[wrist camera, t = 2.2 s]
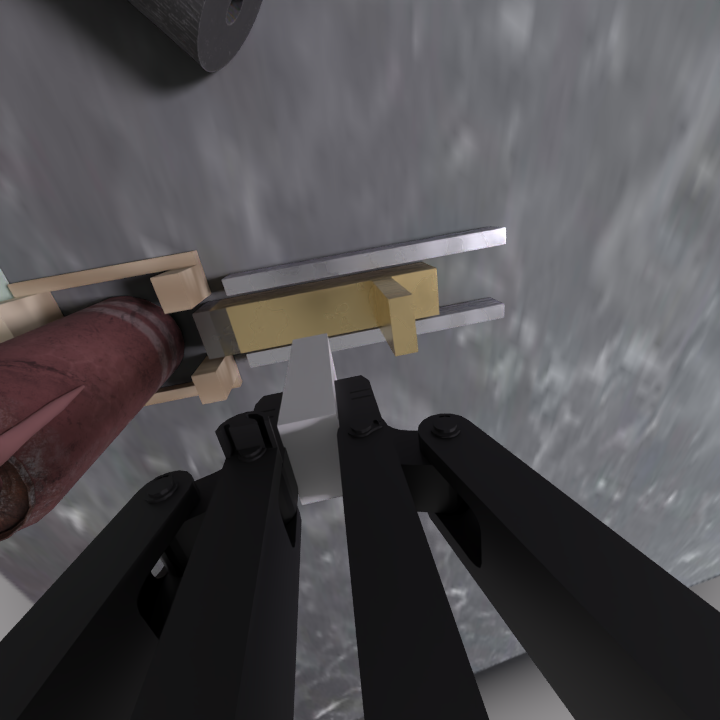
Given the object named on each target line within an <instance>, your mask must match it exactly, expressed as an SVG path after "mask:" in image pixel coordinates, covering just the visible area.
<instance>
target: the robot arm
mask: <svg viewBox="0 0 720 720" xmlns="http://www.w3.org/2000/svg"><path fill="white" fill-rule="evenodd" d="M215 433H216V435H217V437H218V440H219V442H220V445H221V447H222V450H223V452H224V455H225V457H226V460H225V462H224V465H223V468H222V469H221V470H219V471H217V472H215V473H213V474H211V475H208V476H206V477H204V478H201V479H199V480H196V481H194V479H193V477H192V475H191V474H190V473H188V472H187V471H180V470H179V471H174V472H169V473H166V474H163V475H160V476H158V477H156V478H155V479H154V480H152V481H150V482H149V483H147V484H146V485H145V486H144V487H142V488H141V489H140V490H139V491H138V492H137V493H136V494H135V495H134V496H133V497H132V498H131V500H130V501H129V502H128V503H127V504H126V505H125V506H124V507H123V508H122V509H121V510H120V512H119V513H118V514H117V515H116V516H115V517H114V518H113V519H112V520H111V521H110V522H109V524H108V525H107V526H106V527H105V528H104V529H103V530H102V531H101V532H100V533H99V535H98V536H97V537H96V538H95V539H94V540H93V541H92V542H91V543H90V544H89V545H88V547H87V548H86V549H85V550H84V551H83V552H82V553H81V554H80V555H79V556H78V557H77V559H76V560H75V561H74V562H73V563H72V564H71V565H70V566H69V567H68V568H67V569H66V571H65V572H64V573H63V574H62V575H61V576H60V577H59V578H58V579H57V580H56V582H55V583H54V584H53V585H52V586H51V587H50V588H49V589H48V590H47V591H46V592H45V594H44V595H43V596H42V597H41V598H40V599H39V600H38V601H37V602H36V603H35V604H34V606H33V607H32V608H31V609H30V610H29V611H28V612H27V613H26V614H25V615H24V616H23V618H22V619H21V620H20V621H19V622H18V623H17V624H16V625H15V626H14V627H13V629H12V630H11V631H10V632H9V633H8V634H7V635H6V636H5V637H4V638H3V639H2V641H1V642H0V720H293V717H294V692H295V667H296V643H297V618H298V594H299V569H300V544H301V516H300V512H299V509H298V506H297V501H298V494H299V497H300V500H301V503H302V505H304V504H309V503H313V502H318V501H322V500H327V499H331V498H336V497H340V496H343V504H344V514H345V524H346V535H347V545H348V555H349V565H350V576H351V586H352V596H353V607H354V617H355V627H356V637H357V648H358V658H359V668H360V678H361V689H362V699H363V709H364V719H365V720H489V718H488V715H487V712H486V709H485V706H484V703H483V700H482V697H481V695H480V692H479V689H478V686H477V683H476V680H475V677H474V674H473V671H472V668H471V666H470V663H469V660H468V657H467V654H466V651H465V648H464V645H463V643H462V640H461V637H460V634H459V631H458V628H457V625H456V622H455V619H454V617H453V614H452V611H451V608H450V605H449V602H448V599H447V596H446V593H445V591H444V588H443V585H442V582H441V579H440V576H439V573H438V570H437V568H436V565H435V562H434V559H433V556H432V553H431V550H430V547H429V544H428V542H427V539H426V536H425V533H424V530H423V527H422V524H421V521H420V518H419V516H418V513H417V512H428V515H429V517H430V519H431V520H432V521H433V523H434V524H435V526H436V527H437V528H438V530H439V531H440V533H441V534H442V535H443V537H444V538H445V539H446V541H447V542H448V544H449V545H450V546H451V548H452V549H453V551H454V552H455V553H456V555H457V556H458V558H459V559H460V560H461V562H462V563H463V564H464V566H465V567H466V569H467V570H468V571H469V573H470V574H471V576H472V577H473V578H474V580H475V581H476V583H477V584H478V585H479V587H480V588H481V589H482V591H483V592H484V594H485V595H486V596H487V598H488V599H489V601H490V602H491V603H492V605H493V606H494V608H495V609H496V610H497V612H498V613H499V614H500V616H501V617H502V619H503V620H504V621H505V623H506V624H507V626H508V627H509V628H510V630H511V631H512V633H513V634H514V635H515V637H516V638H517V640H518V641H519V642H520V644H521V645H522V646H523V648H524V649H525V651H526V652H527V653H528V655H529V656H530V658H531V659H532V660H533V662H534V663H535V665H536V666H537V667H538V669H539V670H540V671H541V673H542V674H543V676H544V677H545V678H546V679H547V681H548V683H549V684H550V685H551V687H552V688H553V689H554V691H555V692H556V694H557V695H558V696H559V698H560V699H561V701H562V702H563V703H564V705H565V706H566V708H567V709H568V710H569V712H570V713H571V715H572V716H573V717H574V719H575V720H720V612H719V611H717V610H716V609H715V608H714V607H712V606H711V605H709V604H708V603H707V602H706V601H704V600H703V599H702V598H700V597H699V596H698V595H697V594H695V593H694V592H693V591H691V590H690V589H689V588H687V587H686V586H685V585H683V584H682V583H681V582H680V581H678V580H677V579H676V578H674V577H673V576H672V575H670V574H669V573H668V572H666V571H665V570H664V569H663V568H661V567H660V566H659V565H657V564H656V563H655V562H653V561H652V560H651V559H649V558H648V557H647V556H646V555H644V554H643V553H642V552H640V551H639V550H638V549H636V548H635V547H634V546H632V545H631V544H630V543H629V542H627V541H626V540H625V539H623V538H622V537H621V536H619V535H618V534H617V533H615V532H614V531H613V530H612V529H610V528H609V527H608V526H606V525H605V524H604V523H602V522H601V521H600V520H598V519H597V518H596V517H595V516H593V515H592V514H591V513H589V512H588V511H587V510H585V509H584V508H583V507H581V506H580V505H579V504H578V503H576V502H575V501H574V500H572V499H571V498H570V497H568V496H567V495H566V494H564V493H563V492H562V491H561V490H559V489H558V488H557V487H555V486H554V485H553V484H551V483H550V482H549V481H547V480H546V479H545V478H544V477H542V476H541V475H540V474H538V473H537V472H536V471H534V470H533V469H532V468H530V467H529V466H528V465H527V464H525V463H524V462H523V461H521V460H520V459H519V458H517V457H516V456H515V455H513V454H512V453H511V452H510V451H508V450H507V449H506V448H504V447H503V446H502V445H500V444H499V443H498V442H496V441H495V440H494V439H493V438H491V437H490V436H489V435H487V434H486V433H485V432H483V431H482V430H481V429H479V428H478V427H477V426H476V425H474V424H473V423H472V422H470V421H469V420H467V419H465V418H464V417H462V416H459V415H455V414H437V415H433V416H430V417H428V418H426V419H424V420H423V421H422V422H421V423H420V425H419V427H418V431H407V430H398V429H394V428H392V427H390V426H388V425H387V424H386V422H385V421H384V420H383V419H382V417H381V414H380V411H379V409H378V406H377V403H376V400H375V397H374V394H373V391H372V388H371V385H370V382H369V380H368V379H366V378H365V377H363V376H362V375H360V376H355V377H350V378H345V379H340V380H337V378H336V373H335V368H334V363H333V359H332V354H331V349H330V345H329V340H328V335H327V333H325V334H320V335H315V336H310V337H304V338H299V339H294V340H293V341H292V347H291V352H290V358H289V363H288V369H287V374H286V380H285V385H284V391H283V392H281V393H276V394H271V395H266V396H263V397H262V398H261V399H260V400H259V402H258V403H257V404H256V405H255V408H254V411H251V412H245V413H242V414H238V415H236V416H234V417H232V418H230V419H228V420H226V421H225V422H224V423H222V424H221V425H220V426H219V427H218V429H217V430H216V431H215ZM159 559H161V561H162V562H163V564H164V567H163V568H162V570H161V571H160V572H159V574H158V575H157V576H156V577H154V576H153V575H152V573H151V570H152V569H153V567H154V566H155V564H156V563H157V561H158V560H159Z"/></svg>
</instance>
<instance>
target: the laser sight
mask: <svg viewBox="0 0 720 720" xmlns="http://www.w3.org/2000/svg"><path fill="white" fill-rule="evenodd" d="M128 1H129V2H130V3H131V4H132V5H133V6H135V7H136V8H137V9H138V10H139V11H140V12H141V13H142V14H144V15H145V16H146V17H147V18H148V19H149V20H151V21H152V22H153V23H154V24H155V25H156V26H158V27H159V28H160V29H161V30H162V31H163V32H164V33H165V34H166V35H168V36H169V37H170V38H171V39H172V40H173V41H174V42H175V43H176V44H178V45H179V46H180V47H181V48H182V49H183V50H184V51H185V52H186V53H188V54H189V55H190V56H191V57H192V58H193V59H194V60H196V61H197V63H198V64H199V65H200V66H201V67H202V68H203V69H204V70H206V71H208V72H215V71H218V70H220V69H221V68H223V67H224V66H225V65H227V64H228V63H229V62H230V61H231V59H232V58H233V57H234V56H235V55H236V53H237V52H238V51H239V49H240V48H241V46H242V45H243V43H244V41H245V40H246V38H247V36H248V34H249V32H250V30H251V28H252V26H253V24H254V22H255V19H256V17H257V14H258V12H259V9H260V6H261V3H262V0H128Z"/></svg>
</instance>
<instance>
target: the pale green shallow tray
mask: <svg viewBox="0 0 720 720" xmlns="http://www.w3.org/2000/svg"><path fill="white" fill-rule="evenodd" d="M8 284H9V282H8V281H7V279H6V277H5V276H4V274H3V272H2V271H1V269H0V302H2V301H5V300H9V299H12V298H15V297H14V296H13V294H12V292H11V291H10V289H9V287H8V286H7V285H8Z"/></svg>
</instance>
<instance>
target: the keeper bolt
mask: <svg viewBox="0 0 720 720" xmlns="http://www.w3.org/2000/svg"><path fill="white" fill-rule="evenodd" d="M434 315H439V301H438V285H437V269H436V268H435V267H433V266H430V265H428V264H426V263H424V262H419V263H413V264H408V265H403V266H397V267H392V268H386V269H381V270H376V271H370V272H365V273H360V274H354V275H349V276H344V277H338V278H333V279H328V280H322V281H317V282H312V283H306V284H301V285H296V286H290V287H285V288H280V289H274V290H269V291H264V292H258V293H253V294H247V295H242V296H237V297H231V298H226V299H221V300H215V301H210V302H206V303H205V304H204V305H203V306H201V307H200V308H199V309H198V310H196V311H195V312H194V313H193V314H192V316H193V318H194V321H195V323H196V326H197V329H198V331H199V334H200V337H201V339H202V342H203V344H204V347H205V350H206V352H207V355H208V357H209V360H210V359H215V358H220V357H225V356H230V355H235V354H240V353H245V352H251V351H256V350H261V349H266V348H271V347H276V346H281V345H286V344H291V343H292V341H293V340H294V339H299V338H304V337H310V336H315V335H320V334H325V333H327V335H328V336H332V335H337V334H342V333H348V332H353V331H358V330H363V329H368V328H373V327H379V329H380V331H381V332H382V334H383V336H384V337H385V339H386V341H387V343H388V344H389V346H390V348H391V350H392V351H393V353H394V355H395V356H399V355H404V354H409V353H414V352H418V345H417V334H416V324H415V319H419V318H424V317H429V316H434Z"/></svg>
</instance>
